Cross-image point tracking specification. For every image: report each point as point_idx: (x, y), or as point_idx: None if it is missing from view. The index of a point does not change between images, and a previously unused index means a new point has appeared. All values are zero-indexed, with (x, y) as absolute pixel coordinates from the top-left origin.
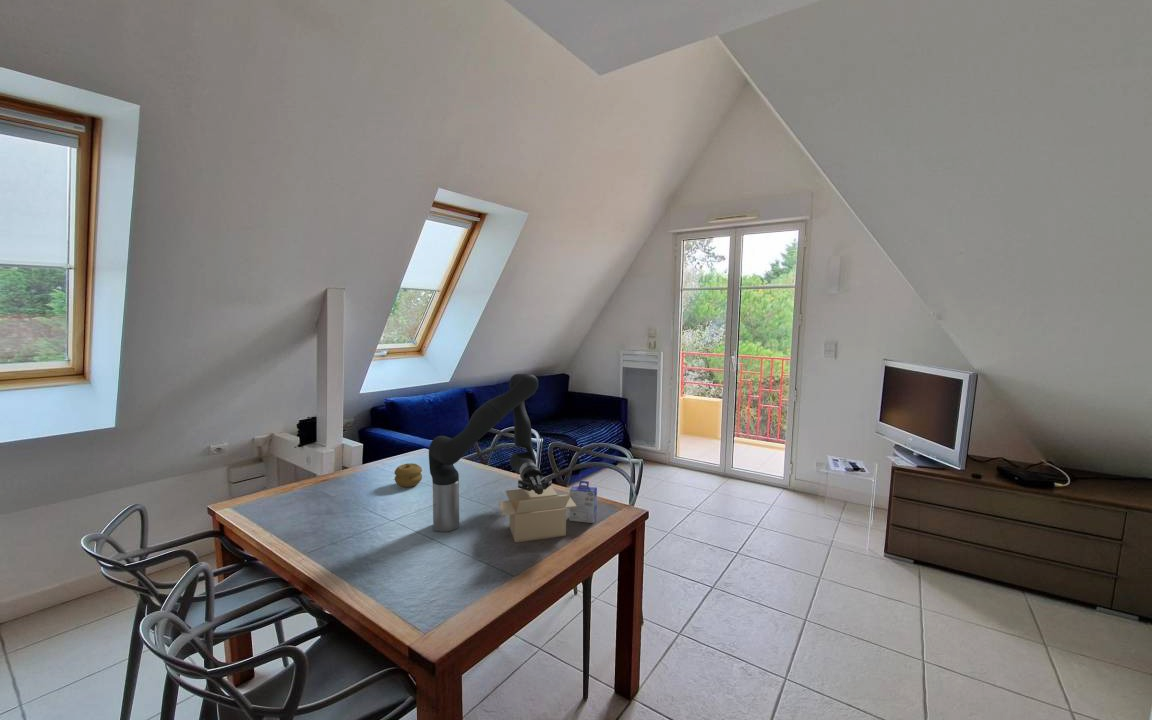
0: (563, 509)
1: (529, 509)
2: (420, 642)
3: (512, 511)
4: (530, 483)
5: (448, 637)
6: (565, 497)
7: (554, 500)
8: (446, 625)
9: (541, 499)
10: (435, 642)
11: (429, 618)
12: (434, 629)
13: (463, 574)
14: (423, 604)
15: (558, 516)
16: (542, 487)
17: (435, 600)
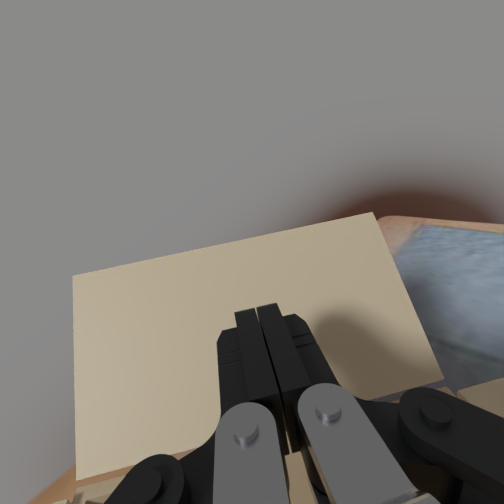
0: (99, 484)
1: (344, 359)
2: (417, 219)
3: (495, 413)
4: (429, 432)
5: (387, 225)
6: (107, 279)
7: (175, 291)
8: (403, 233)
9: (253, 239)
10: (398, 221)
11: (439, 235)
12: (415, 228)
13: (481, 305)
14: (480, 247)
15: None
16: (221, 360)
17: (466, 254)
